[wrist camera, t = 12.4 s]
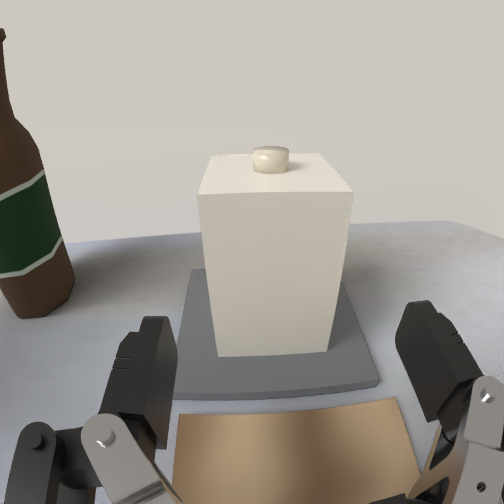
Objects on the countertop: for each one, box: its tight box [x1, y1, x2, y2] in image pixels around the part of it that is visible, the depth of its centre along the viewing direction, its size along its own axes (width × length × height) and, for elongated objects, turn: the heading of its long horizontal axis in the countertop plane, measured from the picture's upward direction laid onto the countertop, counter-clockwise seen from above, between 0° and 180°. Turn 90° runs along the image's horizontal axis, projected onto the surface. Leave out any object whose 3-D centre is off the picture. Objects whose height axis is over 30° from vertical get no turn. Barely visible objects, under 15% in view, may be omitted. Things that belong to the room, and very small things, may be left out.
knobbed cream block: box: [197, 146, 353, 357], centre depth 18 cm, size 7×7×11 cm
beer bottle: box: [0, 28, 75, 318], centre depth 18 cm, size 8×8×24 cm
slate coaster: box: [173, 269, 379, 400], centre depth 21 cm, size 12×12×1 cm
